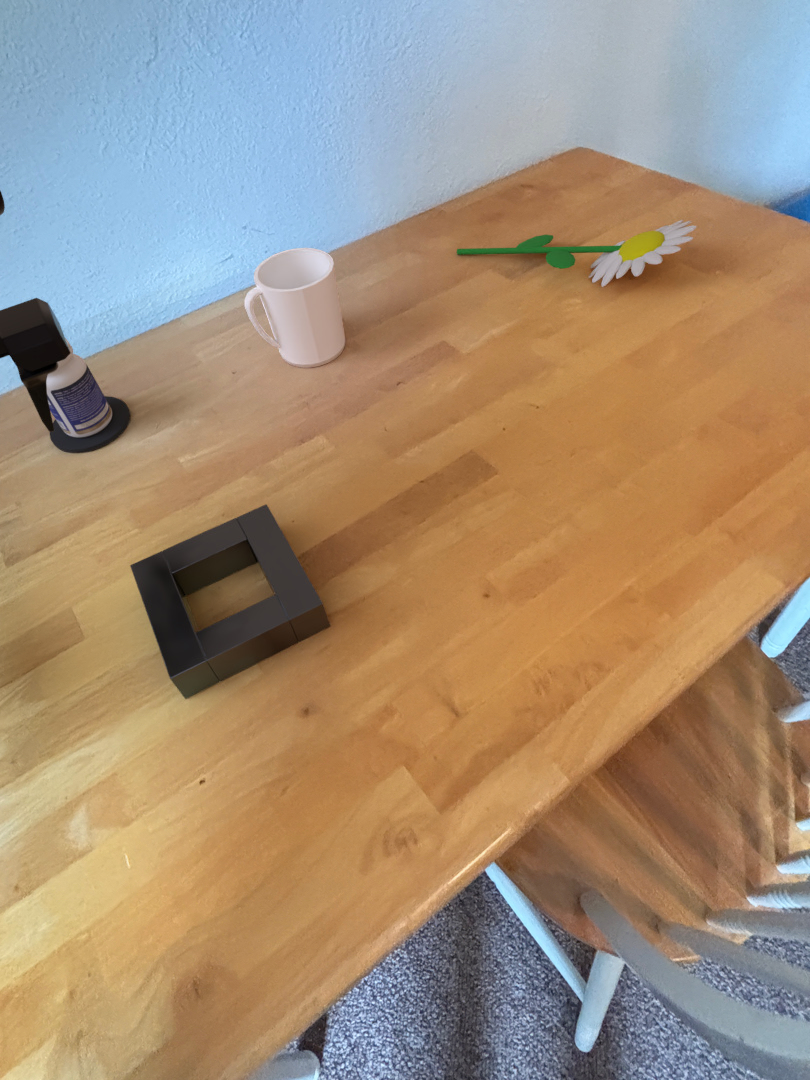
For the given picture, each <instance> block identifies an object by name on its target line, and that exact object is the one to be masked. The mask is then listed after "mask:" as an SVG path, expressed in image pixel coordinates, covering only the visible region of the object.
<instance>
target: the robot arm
mask: <svg viewBox="0 0 810 1080" xmlns="http://www.w3.org/2000/svg"><path fill="white" fill-rule="evenodd" d="M5 206H6V205H5V200H4V196H3V194H2V192H1V190H0V216H2V215H3V214H4V213H5V209H6V207H5ZM65 338H66V336H65V334H64V332H63V329H62V326H61V323H60V322H59V320H58V318H57V316H56V314H55V313H54V310H53V308H52V307H51V306H50V304H49V302H47V301H44V300H43V299H40V298H39V297H35V298H31V299H28V300H25V301H22V302H19V303H16V304H15V305H12V306H11V305H10V306H9V307H5V308H3V309H0V359H2V358H5V357H8V356H9V358H10V359H11V360H12V361H13V363H14V365H15V366H16V368H17V372H18V375H19V378H20V381H21V383H22V385H23V386H24V388H25V389H26V390H27V393H28V395H29V397H30V399H31V402H32V403H33V406H34V408H35V410H36V412H37V414H38V416H39V418H40V420H41V422H42V424H43V425H44V427H45V429H46V430H47V431H48V432H49V433H50V432H53V431H54V426H53V422H54V421H53V417H52V413H51V411H50V408H49V403H48V398H47V386H46V380H47V375H48V374H49V373H52V372H54V371H55V370H57V368H58V362H59V361H61V360H64V359H66V358H67V356H68V355H69V354H70V353H71V352H70V350H69V347H68V344H67V342H66V339H67V338H66V339H65Z"/></svg>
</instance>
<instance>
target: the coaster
mask: <svg viewBox="0 0 810 1080" xmlns="http://www.w3.org/2000/svg"><path fill="white" fill-rule="evenodd" d="M104 396H105V398H106V400H107V402H108V403H109V405H110V407H111V409H112V418H111V421H110V422H109V424H108V425H107V426H106V427H105V428H104V429H102V430H101V431H99V432H98V433H96V434H93V435H91V436H87V437H72V436H69V435H67V434H66V433H65V432H64V431H63V430H62V428H61V427H60V425H59V424H58V422H57V421H56V419H55V418H54V420H53V421H52V422H53V426H54V431H53V432H49V438H50V441H51V442H52V444H53V445H54V447H56V448H57V449H58V450H60V451H62V452H65V453H69V454H81V453H83V454H84V453H89V452H93V451H95V450H98V449H101V448H103V447H105V446H107V445H109V444H111V443H112V442H114V441H115V440H117V439H118V438H119V437H120V436H122V434H123V433H124V432H125V431H126V430H127V428H128V426H129V424H130V422H131V416H132V415H131V411H130V409H129V407H128V404H126V402H124V400H122V399H120V398H118V397H116V396H115V397H114V396H106V395H104Z"/></svg>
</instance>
